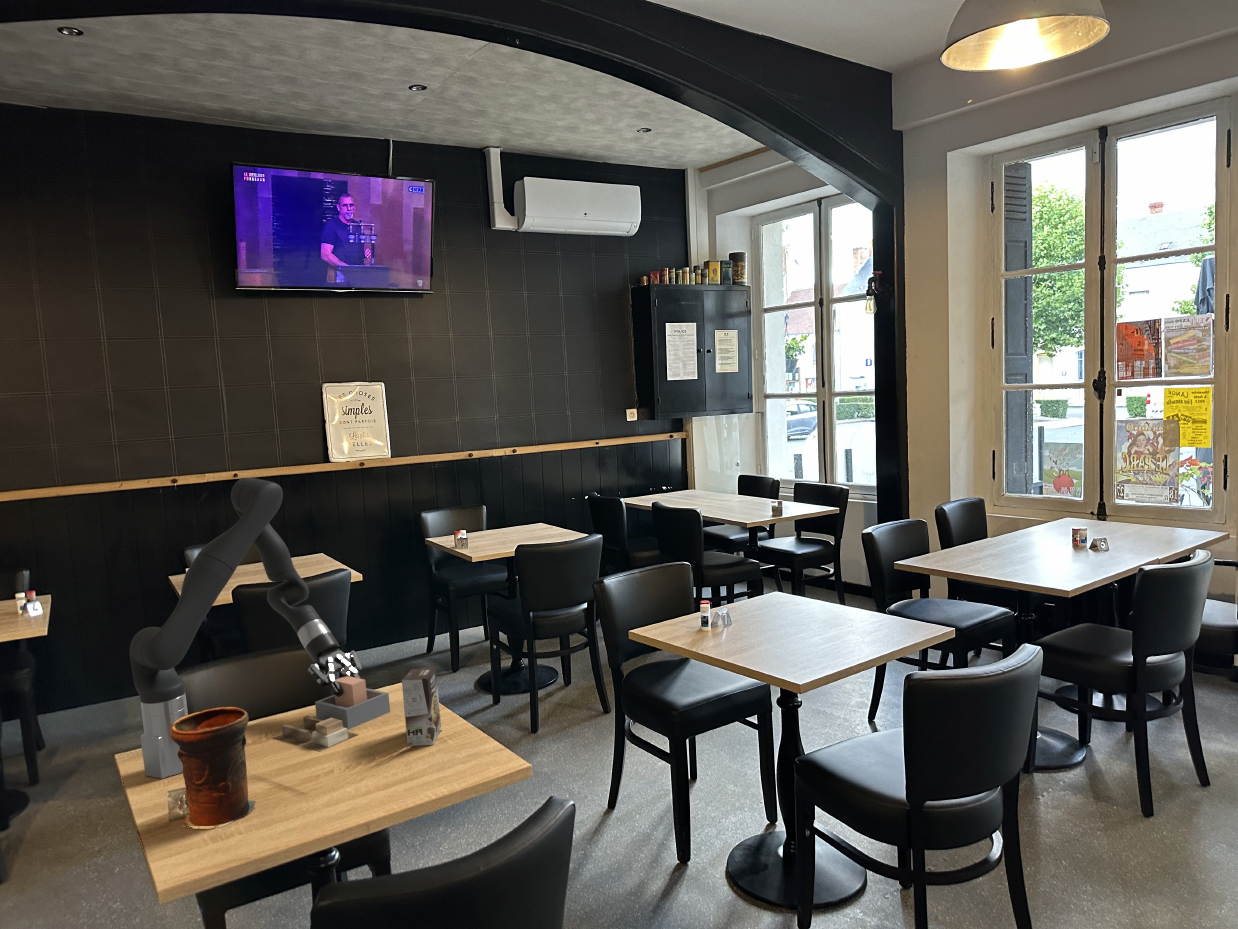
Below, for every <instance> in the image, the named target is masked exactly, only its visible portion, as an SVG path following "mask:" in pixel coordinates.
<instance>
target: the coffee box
mask: <svg viewBox="0 0 1238 929" xmlns="http://www.w3.org/2000/svg"><path fill="white" fill-rule="evenodd" d="M401 685H402V686H401V687H402V696H403V697H402V699H403V709H404V711H403V712H404V720H405V730H406V743H407V744H408V745H407V747H417V746H433V745H434V744H435V742H436V740H437V739H438V737H439V735H440V734H441V732H442V731H443V730H442V729H441V728H442V721H441V710H440V701H439V699H440V698H439V689H438V688H439V687H438V677H437V668H436V666H430V667H420V668H411V669H410V670H409V671H408V672H407V673H406V675H404V677H403V678H402V679H401Z"/></svg>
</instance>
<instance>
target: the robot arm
mask: <svg viewBox="0 0 1238 929" xmlns="http://www.w3.org/2000/svg"><path fill="white" fill-rule="evenodd" d="M230 492H231V493H230V500H231V503H232V505H233V508H234V510H235V512H236V513H237V515H238V517H239V519H238V521H236V523H234V524H233V526H232V527H230V528H229V529H227V530H226V531H225V532H223V533H222V534H220V535H218V536H217V537H215V538H214V539H212V540H211V541H210V542H208V543H207V544H206V545H204V546H203V548H201V550H200V551H199V552H198V554H197V555H196V557H195V558H194V559H193V561H192V562H191V564H190V565H189V567H188V568H187V570H186V573H185V575H184V578H183V582H182V586H181V590H180V595H179V599H178V602H177V604H176V606H175V608H174V610H173V611H172V612H171V615H170V616H169V617H168V618H167V620H166V622H165V623H164V624H163V625H162V626H161V627H160V626H159V627H158V626H147V627H145V628H142V629H141V630H139V631H138V632H137V633H135V635H133V638H132V639H131V642H130V647H129V660H130V667H131V672H132V677H133V678H132V679H133V684H134V688H135V689H136V691H137V693H138V696H139V700H140V709H141V716H142V717H141V718H142V725H143V726H142V727H143V733H142V734H141V735H140V743H141V750H142V752H141V754H142V759H143V767H144V769H143V770H144V775H145V776H148V777H152V778H158V779H164V778H168V777H172V776H174V775H178V774H181V773H183V772H182V771H183V764H182V762H181V760H180V759H179V757H178V751H179V749H180V747H179V745H178V744H177V743H175V742H174V741H173V740H172V738H171V735H170V733H171V726H172V724H173V723H174V722H175V721H177V720H179V719H180V718H182V717H184V716H187V715H189V713H188V703H187V696H186V685H185V682H184V680H183V678H182V677H180V676H179V674H178V673H177V671H176V669H175V667H176V666H178V664H180V663H181V661H182V660H183V659H184V657H185V656H186V655H187V653H188V650H189V649H190V647H191V645H192V642H193V641H194V638H195V637H196V634H197V632H198V631H199V628H200V627H201V625H202V623H203V621H204V619H205V618H206V617H207V614H208V613H209V611H210V610H211V608H212V607H213V606H214V604H215V602H216V600H217V599H218V597H219V596H220V594H221V593H222V591H223V590H224V588H225V587H226V586H227V584H228V583H229V581H230V580H231V579H232V576H233V575H234V573H235V572H236V570H237V568H238V567H239V565H240V563H241V561H242V560H243V558H244V557H245V555H247V553H248V551H249V550H250V548H251V547H252V545H253V544H254V545H255V547H256V550H257V553H258V554H259V557H260V560H261V563H262V567H263V568H264V571H265V574H266V576H267V578H268V579H269V581H270V582H272V583H279V584H277V585H275V586H272V587H271V588H269V590H268V591H267V593H266V594H267V595H266V599H267V600H266V601H267V603H268V604H269V606H270V607H271V608H272V609H273V610H274V611H276V613H277V614H279V615H281V617H283V618H284V619H285V620H286V621H288V623H289V625H291V627H292V629H293V630H294V632H295V633H296V635H297V636H298V639H299V641H300V642H301V644H302V646H303V648H304V649H305V650H306V653H307V654H308V656H309V658H310V659H311V660H312V662H313V663H311V664H310V666H309V668H308V669H307V671H306V672H307V673H308V675H310V677H311V678H312V679H313V680H314V681H315V682H316V684H318V686H320V687H321V688H324V687H329V689H330V690H331V692H332V693H333V695H336V696H337V697H340V696H341V695H342V694H343V690H342V689H341V687H340V686H339V684H338V682H337V681H334V680H336V678H335V674H336V673H339V672H340V673H341V674H342V675H345V676H350V677H355V678H359V679H362V678H361V677H360V675H359V673H360V671H361V670H362V665H361V663H360V660H359V657H358V655H357V653H356V651H355V650H351V651H350V652H348V653H347V652H346V653H345V652H344V651H342V650H341V646H340V644H339V642H338V641H337V639H336V638H335V636H334V635H333V633H332V631H331V630H330V628H329V627H328V626H327V624H326V623H325V622H324V621H323V620H322V618H321V617H320V614H319V613H318V612H317V611H316V610H315V608H314V607H313V605H310V604H305V605H299V604H301V603H302V602H304V601H306V600H307V599H308V598H309V596H310V595H309V594H310V589H309V586H308V584H307V583H306V582H305V581H304V579H303V578H302V576H300V574H299V573H298V572H297V570H296V568H295V566H294V564H293V563H294V562H293V560H292V557H291V554H290V550H289V549H288V546H287V545H286V543H285V541H284V540H283V539H282V538H281V536H280V534H278V532H277V531H276V530H275V529H274V527H273V526H272V525H271V524H270V522H271V521H272V520H273V518H274V517H275V515H276V514H277V513H278V511H279V509H280V507H281V505H282V503H283V499H284V492H283V488H282V487H281V485H279V484H278V483H276V482H274V481H269V480H265V479H260V478H254V477H243V478H240V479H239V480H237V481H236V482H235V483H234V484H233V486H232V487H231V491H230ZM281 582H282V583H281ZM297 605H299V606H297ZM323 672H324V673H323Z"/></svg>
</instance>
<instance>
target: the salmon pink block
mask: <svg viewBox="0 0 1238 929" xmlns="http://www.w3.org/2000/svg"><path fill="white" fill-rule="evenodd" d="M334 681H337V682H338V684H339V686H340V687H341V689H342V690H343V694H342V695H341V696H340V697H337V696H336V695H335V703H336V705H337V706H341V707H345V708H348V707H351V706H353V705H356V704H358V703H361V702H363V701H366V700H367V693H366V688H367V685H366V683H367V682H366V680H365V679H364V678H363V679H362V678H361V679H359V678H355V677H350V676H347V675H344V676H342V677H339V678H335V680H334Z"/></svg>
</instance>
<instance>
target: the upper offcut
mask: <svg viewBox="0 0 1238 929" xmlns="http://www.w3.org/2000/svg"><path fill="white" fill-rule="evenodd" d="M341 729H343V722H342V720H338V719H334V718H329V719H327V720H324V721H322V722H319V723H317V724H316V732H318V733H321V734H325V735H329V734H332V733H334V732H337V731H339V730H341Z"/></svg>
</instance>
